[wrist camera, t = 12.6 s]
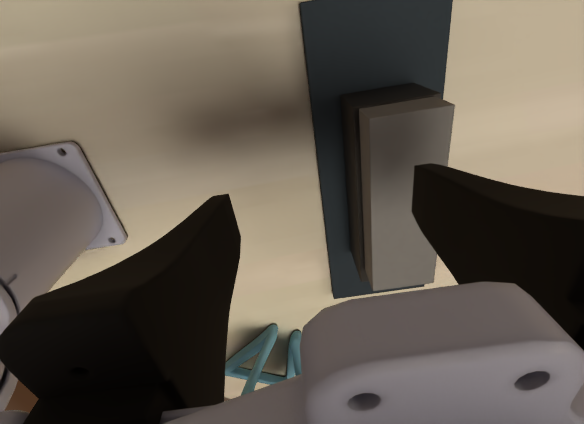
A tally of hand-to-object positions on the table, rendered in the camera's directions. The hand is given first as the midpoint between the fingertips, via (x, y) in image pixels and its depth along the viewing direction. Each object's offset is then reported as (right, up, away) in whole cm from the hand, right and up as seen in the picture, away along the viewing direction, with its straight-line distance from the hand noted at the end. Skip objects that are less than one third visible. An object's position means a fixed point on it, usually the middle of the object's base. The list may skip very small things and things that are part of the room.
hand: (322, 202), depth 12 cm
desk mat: (+5, +2, +10) cm, 11 cm away
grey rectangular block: (+5, +2, +9) cm, 11 cm away
